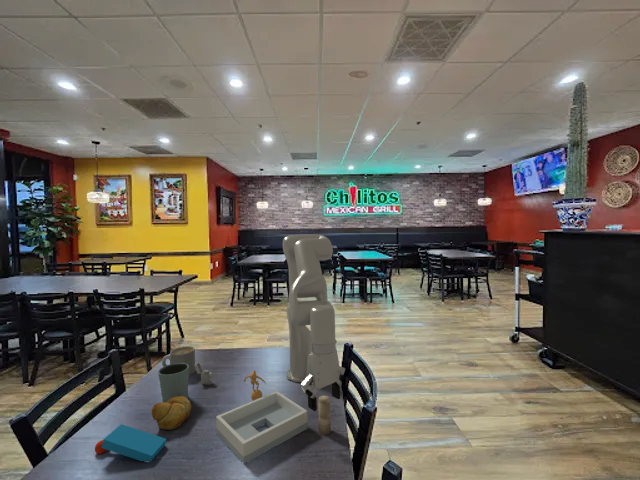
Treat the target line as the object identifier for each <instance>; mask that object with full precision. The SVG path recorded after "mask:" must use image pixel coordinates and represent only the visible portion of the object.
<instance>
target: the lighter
mask: <svg viewBox="0 0 640 480" xmlns="http://www.w3.org/2000/svg"><path fill="white" fill-rule="evenodd" d="M194 367H195V372H196V373H197V375H200V383H201V385H209V386H210V385H211V384H213V372H212V371H211V372H210V370H209V369H204V370H203V368H202V366H201V364H200V362H197V363H195V365H194Z"/></svg>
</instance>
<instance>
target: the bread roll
mask: <svg viewBox="0 0 640 480" xmlns="http://www.w3.org/2000/svg"><path fill="white" fill-rule="evenodd" d="M191 412H192V403H191V401H190V400H189V398H188V399H187V398H186V397H184V396H178V397H174V398H171V399H169V400H168V401H167V402H157V403H155V404H154V405H153V407H152V408H151V416H152V418H153V420H154V421H156V424H157V426H158V428H160V429H161V430H165V431H166V430H168V431H169V430H175V429H177V428H178V427H180V426H181V425H182V424H183V423H184V422H185V421H186V420H187V419H188V418H189V417H190V414H191Z"/></svg>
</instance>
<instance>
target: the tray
mask: <svg viewBox="0 0 640 480" xmlns="http://www.w3.org/2000/svg"><path fill="white" fill-rule="evenodd" d="M215 421H216V422H215V424H216V425H215V426H216V429H215V430H216V435H217V436H218V437H219V439H220V440H221V441H222V442H223V443H224V444H225V445H226V447H229V448H230V449H231V450H230V449H229V448H228V449H229V450H230V451H231V452H232V453H233V454H234V456H236V458H237V459H238V458H239V459H240V460H241V461H242V462H243V463H245V464H247V463H249V462H250V460H251V461H253V460H254V459H256V458H257V456H258V455H260V454H261V455H263V454H265V453H267V452H268V451H270V450H272V449H273V447H274V448H275V446H276V447H278V446H279V445H281V444H283V443H285V442H287V441H289V440H290V439H292V438H293V437H295V436H297V435H298V434H300V433H302V432H304V431H306V430H308V429H309V426H308V425H309V423H308V422H309V420H308V411H307V409H306V408H303V407H302V406H301V405H299V404H298V403H296V402H294V401H292V400H291V399H289V398H288V397H287V396H285V395H283V394H282V393H280V392H279V391H276V390H275V391H274V392H272V393H271V392H270V393H269V394H265V395H264V396H262V397H261V398H259V399H256V400H254V401H253V400H252V401H250V402H247V403H245V404H243V405H239V406H238V407H236V408H235V407H234V408H233V409H231V410H228V411H227V412H223V413H221V414H218V415H217V416H215ZM264 425H266V426H267V427H268V428H266V429H264V430H261V431H259V430H257V429H258V428H260V427H262V426H264ZM271 448H272V449H271ZM266 451H267V452H266ZM264 452H265V453H264ZM262 453H263V454H262ZM261 455H260V456H261ZM255 457H256V458H255ZM258 457H259V456H258ZM239 459H238V460H239ZM240 460H239V461H240ZM241 461H240V462H241ZM248 461H249V462H248ZM242 462H241V463H242ZM246 462H247V463H246ZM243 463H242V464H243Z"/></svg>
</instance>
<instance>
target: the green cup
mask: <svg viewBox="0 0 640 480" xmlns="http://www.w3.org/2000/svg"><path fill="white" fill-rule="evenodd" d="M157 373H158V374H157V375H158V378H159V379H158V380H159V385H160V388H159V389H160V393H161V398H162V399H161V403H163V402H167V401H168V400H169V399H171V398H174V397H178V396H184V397H186V398H187V399H188V400H189V376H188V373H189V365H188V364H186V363H174V364H170V363H169V364H167V366H164V367H163V366H162V367H161V368H160V369H158V372H157Z"/></svg>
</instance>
